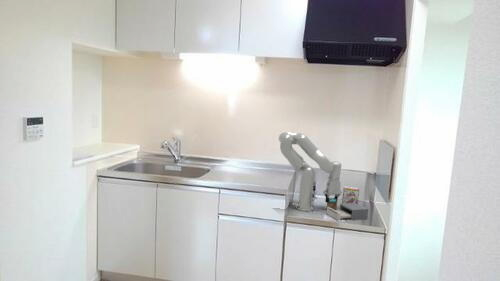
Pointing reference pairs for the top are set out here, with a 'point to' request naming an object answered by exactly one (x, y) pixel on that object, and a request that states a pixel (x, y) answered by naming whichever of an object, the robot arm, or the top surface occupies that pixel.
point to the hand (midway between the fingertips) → (331, 202)
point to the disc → (332, 199)
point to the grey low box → (355, 210)
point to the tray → (337, 213)
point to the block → (332, 205)
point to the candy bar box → (350, 195)
